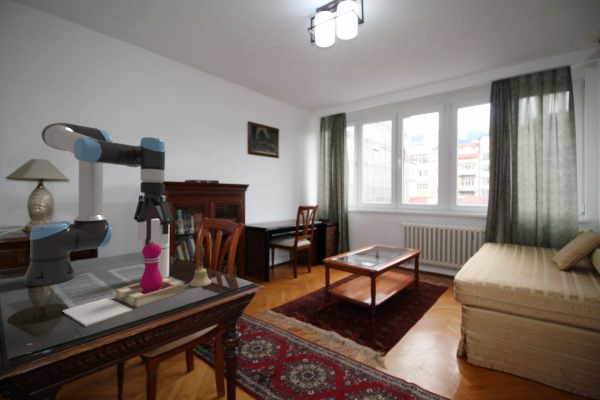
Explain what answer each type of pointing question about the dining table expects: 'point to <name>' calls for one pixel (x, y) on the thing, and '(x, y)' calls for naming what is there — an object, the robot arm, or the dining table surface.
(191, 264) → the dining table surface
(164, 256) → the cylindrical container
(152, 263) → the pepper mill
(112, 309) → the plastic pad
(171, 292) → the maple frame
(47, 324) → the dining table surface
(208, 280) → the hand bell
